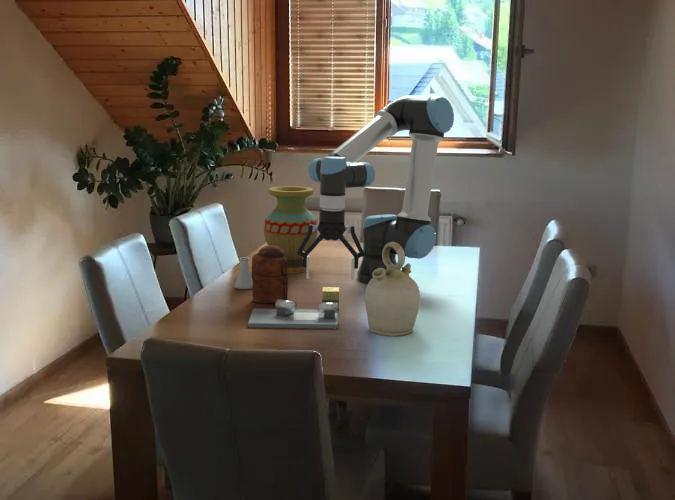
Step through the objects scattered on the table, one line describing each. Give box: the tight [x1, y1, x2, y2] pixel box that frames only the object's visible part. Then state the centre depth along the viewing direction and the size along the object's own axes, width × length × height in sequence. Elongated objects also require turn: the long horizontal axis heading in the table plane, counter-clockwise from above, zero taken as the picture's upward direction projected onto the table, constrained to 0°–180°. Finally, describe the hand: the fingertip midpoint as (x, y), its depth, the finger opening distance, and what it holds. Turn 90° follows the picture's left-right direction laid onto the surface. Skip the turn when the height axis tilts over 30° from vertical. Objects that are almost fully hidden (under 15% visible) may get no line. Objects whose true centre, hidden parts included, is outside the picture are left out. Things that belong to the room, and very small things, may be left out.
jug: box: [364, 242, 421, 337], centre depth 200 cm, size 15×16×25 cm
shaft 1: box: [274, 299, 298, 317], centre depth 210 cm, size 6×4×4 cm
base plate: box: [247, 308, 339, 330], centre depth 209 cm, size 25×14×1 cm, turn 91°
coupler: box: [321, 286, 340, 312], centre depth 221 cm, size 5×5×6 cm
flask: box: [233, 256, 253, 290], centre depth 243 cm, size 7×7×10 cm
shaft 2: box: [317, 302, 339, 319], centre depth 208 cm, size 6×4×4 cm
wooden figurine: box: [251, 245, 289, 305], centre depth 226 cm, size 12×6×18 cm, turn 84°
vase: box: [263, 185, 318, 274], centre depth 267 cm, size 20×20×30 cm
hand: (330, 278), depth 220 cm, fingers open, 13 cm apart
